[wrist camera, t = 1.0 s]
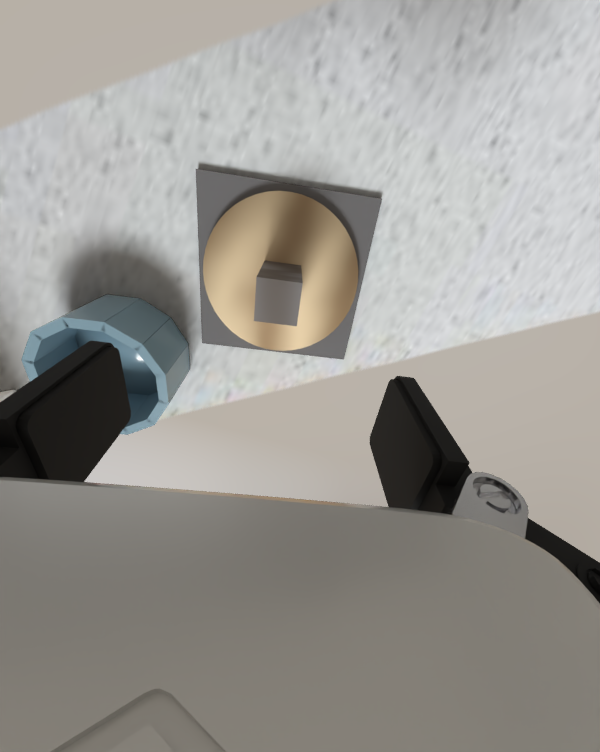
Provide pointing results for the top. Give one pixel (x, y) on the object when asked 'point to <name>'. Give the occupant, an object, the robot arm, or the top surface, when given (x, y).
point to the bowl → (120, 350)
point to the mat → (230, 189)
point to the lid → (280, 270)
